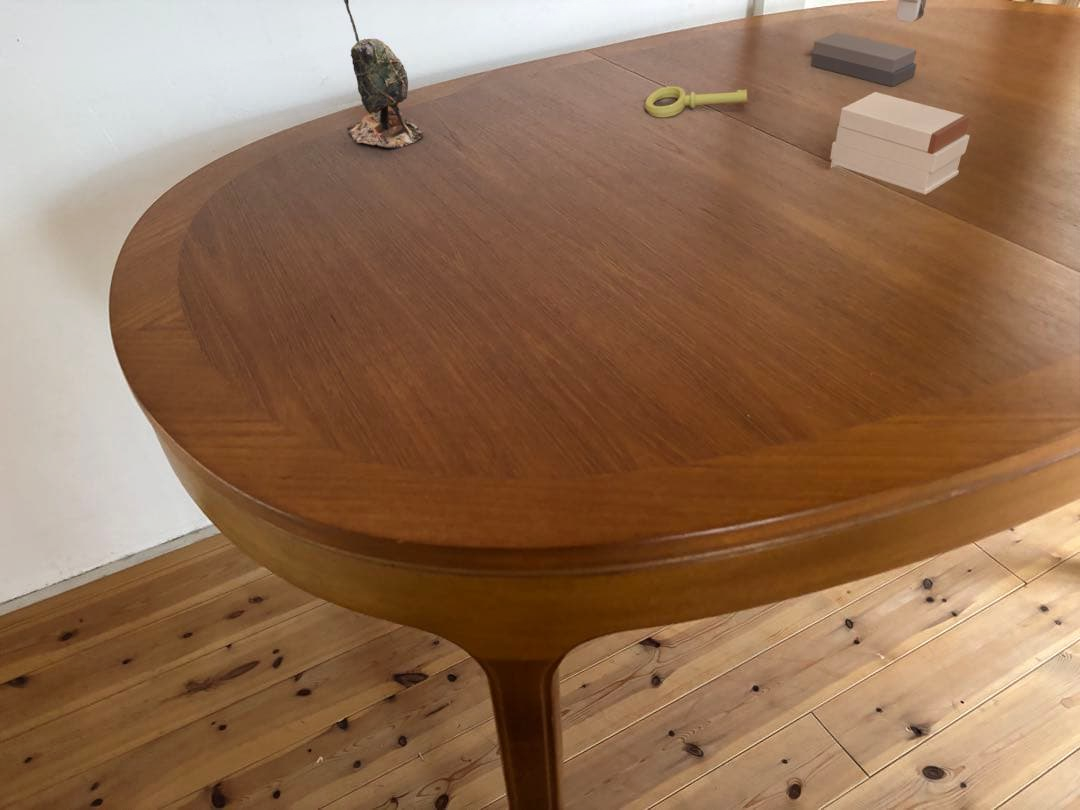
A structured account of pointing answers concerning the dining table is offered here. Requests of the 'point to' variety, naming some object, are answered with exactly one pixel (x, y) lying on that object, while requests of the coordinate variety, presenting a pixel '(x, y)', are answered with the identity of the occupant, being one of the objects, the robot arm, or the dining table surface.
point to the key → (688, 100)
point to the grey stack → (864, 58)
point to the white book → (904, 122)
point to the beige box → (897, 160)
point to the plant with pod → (380, 94)
